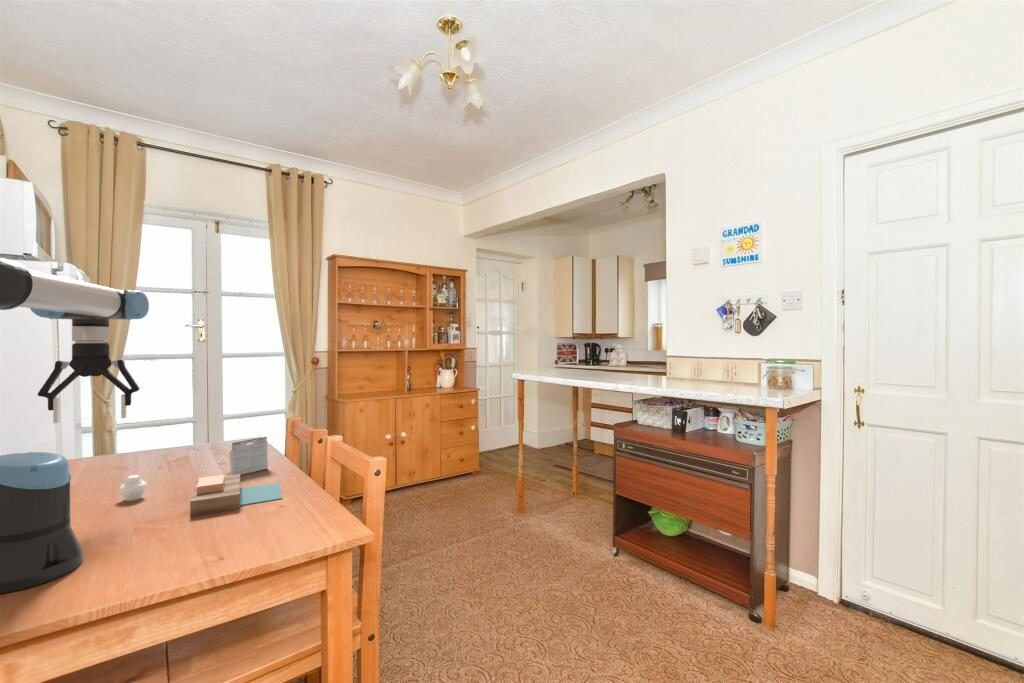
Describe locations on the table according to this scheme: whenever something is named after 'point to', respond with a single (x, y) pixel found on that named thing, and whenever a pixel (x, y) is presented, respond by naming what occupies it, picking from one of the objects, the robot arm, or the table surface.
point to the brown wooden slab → (217, 498)
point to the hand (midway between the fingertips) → (91, 420)
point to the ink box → (248, 456)
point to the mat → (260, 493)
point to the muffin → (133, 488)
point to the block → (210, 484)
